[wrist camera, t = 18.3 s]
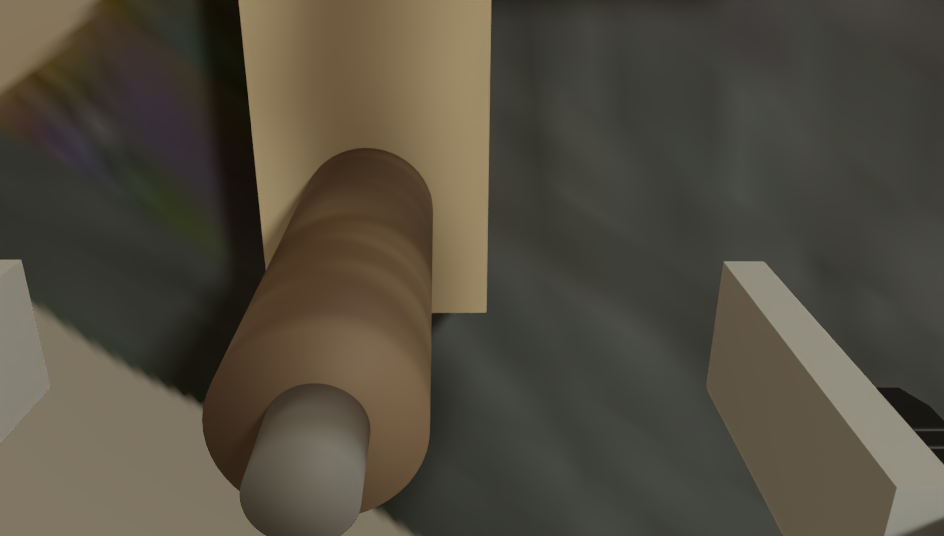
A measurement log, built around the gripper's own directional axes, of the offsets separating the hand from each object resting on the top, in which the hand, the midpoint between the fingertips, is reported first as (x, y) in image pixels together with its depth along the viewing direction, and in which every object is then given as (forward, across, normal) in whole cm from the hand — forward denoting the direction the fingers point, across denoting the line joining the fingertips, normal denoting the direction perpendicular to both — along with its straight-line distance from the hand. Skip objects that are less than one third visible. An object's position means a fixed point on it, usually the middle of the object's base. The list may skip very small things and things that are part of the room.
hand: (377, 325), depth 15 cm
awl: (+6, +1, 0) cm, 7 cm away
